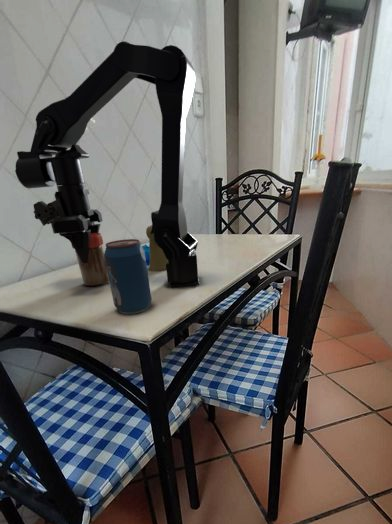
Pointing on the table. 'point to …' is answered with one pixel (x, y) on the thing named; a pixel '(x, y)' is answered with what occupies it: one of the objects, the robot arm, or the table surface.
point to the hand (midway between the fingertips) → (88, 259)
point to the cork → (155, 253)
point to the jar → (94, 267)
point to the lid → (94, 240)
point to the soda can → (128, 275)
